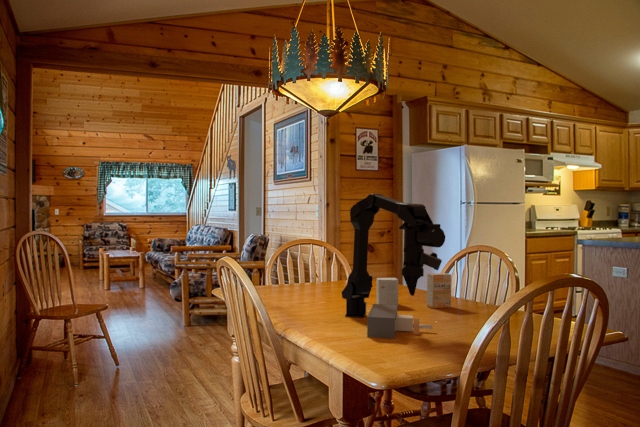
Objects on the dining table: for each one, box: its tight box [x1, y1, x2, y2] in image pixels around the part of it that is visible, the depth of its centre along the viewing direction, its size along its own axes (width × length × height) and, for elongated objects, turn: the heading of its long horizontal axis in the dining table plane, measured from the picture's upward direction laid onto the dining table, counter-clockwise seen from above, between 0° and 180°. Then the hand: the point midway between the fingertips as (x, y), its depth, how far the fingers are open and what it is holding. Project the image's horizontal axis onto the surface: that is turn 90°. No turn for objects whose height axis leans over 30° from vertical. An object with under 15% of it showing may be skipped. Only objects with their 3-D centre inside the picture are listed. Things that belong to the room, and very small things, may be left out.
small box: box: [376, 277, 399, 307], centre depth 190 cm, size 8×6×10 cm
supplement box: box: [426, 272, 452, 309], centre depth 187 cm, size 8×5×13 cm, turn 105°
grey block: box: [366, 303, 399, 339], centre depth 151 cm, size 8×20×6 cm, turn 169°
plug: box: [396, 314, 434, 332], centre depth 149 cm, size 11×4×4 cm, turn 79°
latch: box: [413, 317, 420, 335], centre depth 140 cm, size 2×8×3 cm, turn 168°
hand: (412, 295), depth 147 cm, fingers closed
